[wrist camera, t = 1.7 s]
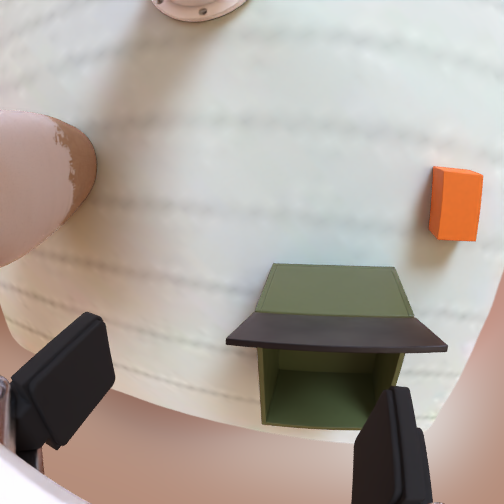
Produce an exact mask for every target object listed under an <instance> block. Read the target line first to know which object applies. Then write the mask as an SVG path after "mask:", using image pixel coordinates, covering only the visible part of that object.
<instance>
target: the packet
mask: <svg viewBox="0 0 504 504" xmlns="http://www.w3.org/2000/svg"><path fill="white" fill-rule="evenodd" d="M482 185H483V175H482V174H479V173H476V172H473V171H471V170H464V169H455V168H446V167H435V166H434V167H433V181H432V197H431V209H430V219H429V230H430V232H431V233H432V234H433V235H434V236H435V237H436V238H437V239H438V240H456V241H476V235H477V229H478V222H479V214H480V206H481V196H482Z"/></svg>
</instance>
